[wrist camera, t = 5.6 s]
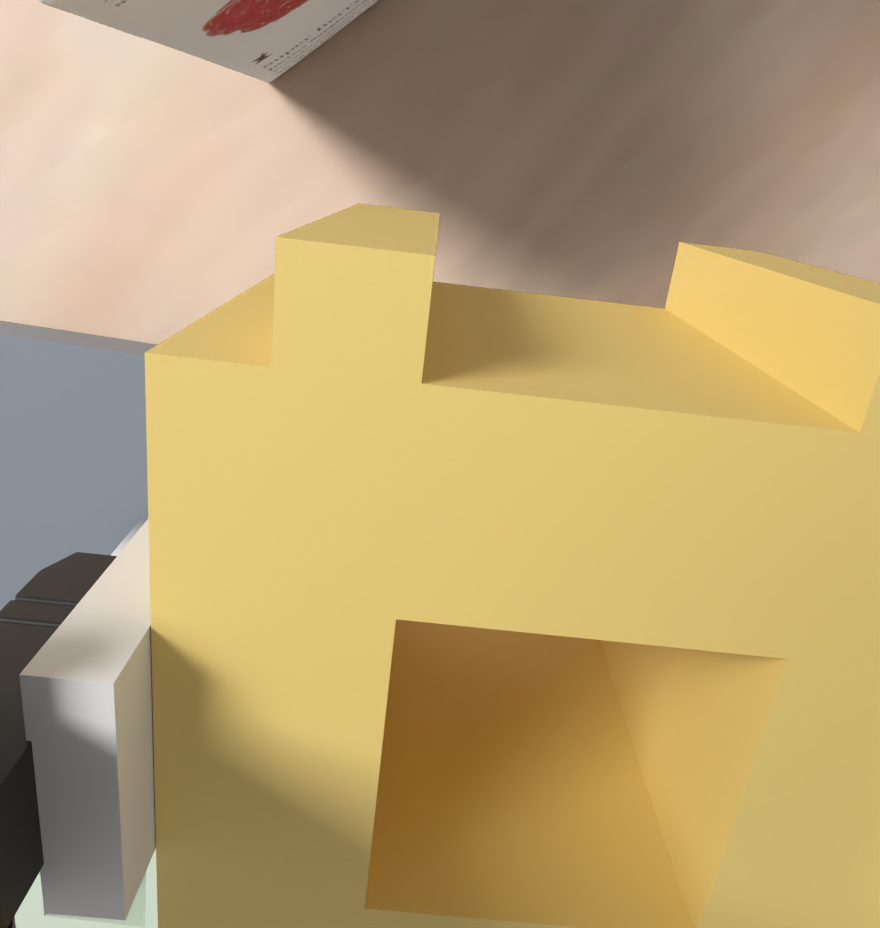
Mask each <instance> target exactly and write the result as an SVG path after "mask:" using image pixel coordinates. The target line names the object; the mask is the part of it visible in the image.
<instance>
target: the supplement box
mask: <svg viewBox="0 0 880 928" xmlns="http://www.w3.org/2000/svg"><path fill="white" fill-rule="evenodd" d="M40 1H41V3H43V4H46V5H48V6H51V7H54V8H57V9H60V10H63V11H66V12H69V13H72V14H75V15H78V16H81V17H84V18H87V19H89V20H92V21H95V22H98V23H101V24H104V25H106V26H109V27H112V28H115V29H118V30H121V31H124V32H126V33H129V34H132V35H135V36H138V37H142V38H145V39H148V40H151V41H154V42H157V43H159V44H162V45H165V46H168V47H171V48H174V49H176V50H179V51H182V52H185V53H188V54H191V55H193V56H196V57H199V58H202V59H205V60H207V61H210V62H213V63H215V64H218V65H221V66H224V67H226V68H229V69H232V70H235V71H238V72H241V73H243V74H246V75H249V76H252V77H254V78H257V79H260V80H262V81H265V82H271V81H273V80H274V79H276V78H277V77H279V76H280V75H281V74H283V73H284V72H285V71H287V70H288V69H290V68H291V67H292V66H294V65H295V64H296V63H298V62H299V61H300V60H301V59H303V58H304V57H305V56H307V55H308V54H309V53H311V52H312V51H313V50H315V49H316V48H317V47H319V46H320V45H321V44H323V43H324V42H325V41H327V40H328V39H329V38H330V37H332V36H333V35H334V34H336V33H337V32H338V31H340V30H341V29H342V28H344V27H345V26H346V25H347V24H349V23H350V22H351V21H353V20H354V19H355V18H356V17H358V16H359V15H360V14H362V13H363V12H364V11H365V10H367V9H368V8H369V7H371V6H372V5H373V4H375V3H376V2H377V1H379V0H40Z"/></svg>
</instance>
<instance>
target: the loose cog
mask: <svg viewBox="0 0 880 928" xmlns="http://www.w3.org/2000/svg"><path fill="white" fill-rule="evenodd" d="M439 219H440V213H434V212H426V211H417V210H409V209H401V208H392V207H384V206H375V205H367V204H357V205H354V206H352V207H349V208H347V209H344V210H342V211H339V212H337V213H335V214H332V215H330V216H327V217H325V218H322V219H320V220H317V221H315V222H312V223H310V224H307V225H305V226H302V227H300V228H297V229H295V230H292V231H290V232H287V233H285V234H282V235H280V236H277V237H276V251H275V273H274V274H273V275H271V276H269V277H268V278H266V279H264V280H263V281H261V282H259V283H258V284H256V285H255V286H253V287H251V288H250V289H248V290H246V291H245V292H243V293H241V294H240V295H238V296H237V297H235V298H233V299H232V300H230V301H228V302H227V303H225V304H223V305H222V306H220V307H219V308H217V309H215V310H214V311H212V312H210V313H209V314H207V315H205V316H204V317H202V318H201V319H199V320H197V321H196V322H194V323H192V324H191V325H189V326H187V327H186V328H184V329H183V330H181V331H179V332H178V333H176V334H174V335H173V336H171V337H169V338H168V339H166V340H165V341H163V342H161V343H160V344H158V345H156V346H155V347H153V348H151V349H150V350H148V351H147V352H145V393H146V436H147V480H148V523H149V566H150V610H151V653H152V696H153V740H154V783H155V826H156V870H157V913H158V928H880V283H876V282H873V281H869V280H865V279H861V278H857V277H854V276H850V275H846V274H842V273H838V272H835V271H831V270H827V269H823V268H819V267H816V266H812V265H808V264H804V263H800V262H797V261H793V260H789V259H785V258H781V257H778V256H774V255H770V254H766V253H762V252H759V251H751V250H743V249H734V248H726V247H718V246H709V245H701V244H693V243H684V242H679V246H678V250H677V255H676V260H675V264H674V269H673V273H672V278H671V283H670V287H669V292H668V297H667V301H666V306H665V309H663V308H654V307H646V306H637V305H629V304H620V303H611V302H603V301H594V300H586V299H577V298H569V297H560V296H551V295H543V294H534V293H526V292H517V291H509V290H500V289H491V288H483V287H474V286H466V285H457V284H449V283H440V282H433V274H434V265H435V256H436V247H437V237H438V228H439Z"/></svg>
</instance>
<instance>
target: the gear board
mask: <svg viewBox="0 0 880 928" xmlns="http://www.w3.org/2000/svg"><path fill="white" fill-rule="evenodd" d="M155 346H156V345H155V344H148V343H142V342H135V341H129V340H122V339H115V338H109V337H102V336H96V335H89V334H83V333H76V332H70V331H63V330H56V329H50V328H43V327H37V326H30V325H24V324H17V323H11V322H4V321H0V611H1V610H2V609H3V607H4V606H5V605H6V604H7V603H8V602H9V601H10V600H15V598H16V594H17V593H18V592H19V591H20V590H21V589H22V588H23V587H24V586H25V585H26V584H27V583H28V582H29V581H30V580H31V579H32V578H33V577H34V576H35V575H36V574H37V573H38V572H39V571H40V570H42V569H44V568H46V567H48V566H50V565H52V564H54V563H56V562H58V561H60V560H62V559H64V558H66V557H68V556H70V555H72V554H74V553H76V552H82V553H92V554H102V555H111V556H118V555H119V553H120V552H121V551H122V550H123V549H124V547H125V546H126V545H127V544H128V543H129V541H130V540H131V539H132V538H133V537H134V535H135V534H136V533H137V532H138V530H139V529H140V528H141V527H142V526H143V524H144V523H145V522H146V521H147V520H148V480H147V436H146V393H145V352H147V351H148V350H150V349H151V348H153V347H155ZM14 917H15V925H16V928H158V913H157V870H156V849H155V851H154V854H153V856H152V858H151V861H150V863H149V865H148V868H147V870H146V873H145V875H144V877H143V880H142V882H141V885H140V887H139V889H138V892H137V894H136V896H135V899H134V901H133V904H132V906H131V908H130V911H129V913H128V915H127V918H126V920H115V919H104V918H92V917H80V916H69V915H57V914H46V913H44V906H43V896H42V886H41V877H40V872H39V874H38V875H37V877H36V879H35V881H34V882H33V884H32V886H31V888H30V890H29V891H28V893H27V895H26V897H25V898H24V900H23V902H22V904H21V905H20V907H19V909H18V911H17V912H16V914H15V916H14Z"/></svg>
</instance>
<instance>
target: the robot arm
mask: <svg viewBox="0 0 880 928" xmlns="http://www.w3.org/2000/svg"><path fill="white" fill-rule="evenodd" d="M155 849H156V826H155V783H154V740H153V696H152V653H151V610H150V566H149V523H148V520H147V521H146V522H145V523H144V524H143V526H142V527H141V528H140V529H139V530H138V532H137V533H136V534H135V535H134V537H133V538H132V539H131V540H130V541H129V543H128V544H127V545H126V546H125V547H124V549H123V550H122V551H121V552H120V553H119V555H118V556H111V555H102V554H92V553H82V552H76V553H74V554H72V555H70V556H68V557H66V558H64V559H62V560H60V561H58V562H56V563H54V564H52V565H50V566H48V567H46V568H44V569H42V570H40V571H39V572H38V573H37V574H36V575H35V576H34V577H33V578H32V579H31V580H30V581H29V582H28V583H27V584H26V585H25V586H24V587H23V588H22V589H21V590H20V591H19V592H18V593H17V594H16V598H15V600H10V601H9V602H8V603H7V604H6V605H5V606H4V607H3V609H2V610H1V611H0V928H16V925H15V917H14V916H15V914H16V912H17V911H18V909H19V907H20V905H21V904H22V902H23V900H24V898H25V897H26V895H27V893H28V891H29V890H30V888H31V886H32V884H33V882H34V881H35V879H36V877H37V875H38V874H39V872H40V877H41V886H42V896H43V906H44V913H46V914H57V915H69V916H80V917H92V918H104V919H115V920H126V918H127V915H128V913H129V911H130V908H131V906H132V904H133V901H134V899H135V896H136V894H137V892H138V889H139V887H140V885H141V882H142V880H143V877H144V875H145V873H146V870H147V868H148V865H149V863H150V861H151V858H152V856H153V854H154V851H155Z"/></svg>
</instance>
